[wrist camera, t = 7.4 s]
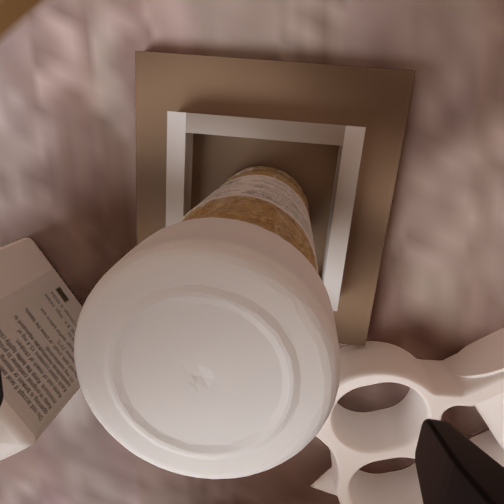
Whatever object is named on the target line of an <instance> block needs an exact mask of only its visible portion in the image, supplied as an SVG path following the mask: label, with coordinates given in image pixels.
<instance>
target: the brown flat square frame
mask: <svg viewBox="0 0 504 504" xmlns="http://www.w3.org/2000/svg"><path fill="white" fill-rule="evenodd" d="M415 73H416V71H414V70H400V69H386V68H372V67H358V66H344V65H329V64H315V63H301V62H287V61H273V60H259V59H245V58H231V57H217V56H202V55H188V54H174V53H160V52H146V51H135V86H136V216H137V245H138V244H140V243H141V242H142V241H143V240H145V239H146V238H148V237H149V236H151V235H152V234H154V233H155V232H157V231H159V230H161V229H163V228H165V227H167V226H169V225H172V224H175V223H178V222H179V221H180V220H181V219H182V218H183V217H184V216H185V215H186V214H187V213H188V212H189V211H190V210H192V209H193V208H194V207H196V206H197V205H198V204H199V203H201V202H202V201H203V200H204V199H205V198H207V197H208V196H209V195H210V194H211V193H213V192H214V191H215V190H216V189H218V188H219V187H220V186H222V185H223V184H224V183H225V182H226V180H227V179H229V178H230V177H232V176H233V175H234V174H235V173H237V172H240V171H241V170H243V169H245V168H249V167H254V166H268V167H273V168H276V169H279V170H282V171H284V172H286V173H287V174H288V175H290V176H291V177H292V178H294V179H295V180H296V181H297V183H298V184H299V185H300V186H301V188H302V190H303V192H304V194H305V196H306V197H307V200H308V209H309V218H310V223H311V229H312V234H313V240H314V246H315V252H316V258H317V265H318V275H319V276H320V278H321V280H322V282H323V284H324V285H325V287H326V290H327V292H328V295H329V298H330V301H331V306H332V310H333V315H334V320H335V326H336V332H337V337H338V343H342V344H350V345H358V346H365V345H366V339H367V334H368V328H369V323H370V318H371V312H372V307H373V301H374V296H375V290H376V285H377V280H378V274H379V269H380V263H381V258H382V252H383V247H384V242H385V236H386V231H387V225H388V220H389V214H390V209H391V204H392V198H393V193H394V187H395V182H396V176H397V171H398V166H399V160H400V155H401V149H402V144H403V139H404V133H405V128H406V122H407V117H408V111H409V106H410V101H411V95H412V90H413V84H414V79H415Z"/></svg>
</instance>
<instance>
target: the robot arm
mask: <svg viewBox="0 0 504 504" xmlns="http://www.w3.org/2000/svg"><path fill="white" fill-rule="evenodd" d="M3 397H4V393H3V384H2V376H1V368H0V406H1V404H2V402H3ZM415 464H416V469H417V474H418V479H419V484H420V489H421V494H422V499H423V504H504V467H503V466H501V465H500V464H499V463H498V462H497V461H495V460H494V459H493V458H492V457H490V456H489V455H488V454H487V453H485V452H484V451H483V450H482V449H480V448H479V447H478V446H477V445H475V444H474V443H473V442H472V441H470V440H469V439H468V438H467V437H465V436H464V435H463V434H462V433H461V432H459V431H458V430H457V429H456V428H454V427H453V426H452V425H451V424H449V423H448V422H446V421H443V420H435V419H425V420H424V421H423V423H422V426H421V430H420V434H419V438H418V442H417V447H416V451H415Z"/></svg>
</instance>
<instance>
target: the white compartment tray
mask: <svg viewBox="0 0 504 504" xmlns="http://www.w3.org/2000/svg"><path fill="white" fill-rule="evenodd" d="M339 351H340V362H341V366H340V382H339V388H338V392H337V396H336V399H335V403H334V405H333V408H332V410H331V412H330V415H329V417H328V418H327V420H326V422H325V423H324V425H323V427H322V428H321V430H320V431H319V432H318V434H317V435H316V437H317V438H319V439H320V440H321V441H323V442H324V443H325V444H326V445H327V446H328V447H329V449H330V452H331V461H332V466H331V467H330V468H329V469H328V470H327V471H326V472H325V473H324V474H323V475H322V476H321V477H320V478H318V479H317V480H316V481H315V482H314V483H313V484H312V485H311V486H310V487H313V488H316V489H319V490H322V491H325V492H327V493H330V494H333V495H336V496H337V497H338V499H339V502H340V504H423V499H422V494H421V489H420V484H419V479H418V474H417V469H416V464H415V463H414V464H412V465H411V466H409V467H407V468H405V469H402V470H399V471H393V472H387V473H380V474H373V473H367V472H364V471H361V470H359V469H360V468H361V467H363V466H364V465H366V464H368V463H371V462H375V461H379V460H385V459H391V458H398V457H406V458H413V459H415V451H416V447H417V442H418V438H419V434H420V430H421V426H422V423H423V421H424V420H425V419H435V420H441V416H442V414H443V413H444V412H445V411H446V410H447V409H448V408H450V407H453V406H475V407H476V409H477V410H478V412H479V413H480V415H481V417H482V418H483V420H484V421H485V423H486V424H487V426H488V427H489V429H490V430H488V431H486V432H483V433H481V434H479V435H477V436H474V437H472V438H470V439H469V440H470V441H472V442H473V443H474V444H475V445H477V446H478V447H479V448H480V449H482V450H483V451H484V452H485V453H487V454H488V455H489V456H490V457H492V458H493V459H494V460H495V461H497V462H498V463H499V464H500V465H501V466H503V467H504V327H503V328H501V329H499V330H497V331H495V332H493V333H491V334H489V335H487V336H485V337H483V338H481V339H479V340H477V341H475V342H473V343H471V344H469V345H467V346H465V347H464V348H463V349H462V350H460V351H459V352H458V353H456V354H454V355H452V356H450V357H448V358H446V359H444V360H441V361H438V360H423V359H417V358H415V357H414V356H413V355H412V354H410V353H409V352H407V351H406V350H404V349H402V348H400V347H398V346H396V345H393V344H389V343H385V342H379V341H366V345H365V346H358V345H350V344H349V345H347V346H344V347H342V348H340V349H339ZM383 382H394V383H400V384H403V385H406V386H408V387H410V390H409V392H408V394H407V395H406V396H405V398H404V399H403V400H402V401H400V402H399V403H398V404H396V405H394V406H392V407H390V408H386V409H381V410H376V411H371V412H354V411H350V410H348V409H345V408H344V407H342V406H340V405H339V404H338V403H337V402H338V400H339V399H340V398H341V397H342V396H343V395H345V394H346V393H347V392H349V391H351V390H353V389H356V388H359V387H363V386H367V385H372V384H377V383H383Z"/></svg>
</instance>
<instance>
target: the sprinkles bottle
mask: <svg viewBox="0 0 504 504" xmlns="http://www.w3.org/2000/svg"><path fill="white" fill-rule="evenodd" d="M74 361H75V366H76V372H77V377H78V381H79V384H80V387H81V390H82V392H83V395H84V397H85V399H86V401H87V403H88V405H89V407H90V409H91V410H92V412H93V413H94V415H95V416H96V418H97V419H98V421H99V422H100V423H101V424H102V425H103V427H104V428H105V429H106V430H107V431H108V432H109V433H110V435H112V436H113V437H114V438H115V439H116V440H117V441H118V442H119V443H120V444H122V445H123V446H124V447H125V448H126V449H128V450H129V451H131V452H132V453H134V454H135V455H136V456H138V457H140V458H142V459H143V460H145V461H147V462H149V463H151V464H153V465H155V466H157V467H160V468H163V469H165V470H168V471H171V472H174V473H178V474H181V475H186V476H191V477H197V478H207V479H230V478H239V477H246V476H250V475H253V474H256V473H260V472H263V471H266V470H269V469H271V468H273V467H275V466H277V465H279V464H281V463H283V462H285V461H287V460H288V459H290V458H291V457H293V456H294V455H296V454H297V453H298V452H300V451H301V450H302V449H303V448H304V447H305V446H306V445H307V444H309V443H310V442H311V441H312V439H313V438H314V437H315V436H316V435H317V434H318V432H319V431H320V430H321V428H322V427H323V425H324V423H325V422H326V420H327V418H328V417H329V415H330V412H331V410H332V408H333V405H334V403H335V399H336V396H337V392H338V388H339V382H340V366H341V362H340V351H339V343H338V337H337V332H336V326H335V320H334V315H333V310H332V306H331V301H330V298H329V295H328V292H327V290H326V287H325V285H324V284H323V282H322V280H321V278H320V276H319V275H318V265H317V258H316V252H315V246H314V240H313V234H312V229H311V223H310V218H309V209H308V200H307V197H306V196H305V194H304V192H303V190H302V188H301V186H300V185H299V184H298V183H297V181H296V180H295V179H294V178H292V177H291V176H290V175H288V174H287V173H286V172H284V171H282V170H279V169H276V168H273V167H268V166H254V167H249V168H245V169H243V170H241V171H240V172H237V173H235V174H234V175H233V176H232V177H230V178H229V179H227V180H226V182H225V183H224V184H223V185H222V186H220V187H219V188H218V189H216V190H215V191H214V192H213V193H211V194H210V195H209V196H208V197H207V198H205V199H204V200H203V201H202V202H201V203H199V204H198V205H197V206H196V207H194V208H193V209H192V210H190V211H189V212H188V213H187V214H186V215H185V216H184V217H183V218H182V219H181V220H180V221H179V222H178V223H175V224H172V225H169V226H167V227H165V228H163V229H161V230H159V231H157V232H155V233H154V234H152V235H151V236H149V237H148V238H146V239H145V240H143V241H142V242H141V243H140V244H138V245H137V246H136V247H134V248H133V249H132V250H131V251H129V252H128V253H127V254H126V255H125V256H124V257H123V258H121V259H120V260H119V261H118V262H117V263H116V264H115V265H114V266H112V267H111V268H110V269H109V270H108V271H107V272H106V273H105V274H104V275H103V277H102V278H101V279H100V280H99V281H98V283H97V284H96V285H95V287H94V288H93V290H92V291H91V293H90V294H89V296H88V297H87V299H86V301H85V303H84V305H83V308H82V310H81V312H80V315H79V319H78V322H77V326H76V332H75V338H74Z"/></svg>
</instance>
